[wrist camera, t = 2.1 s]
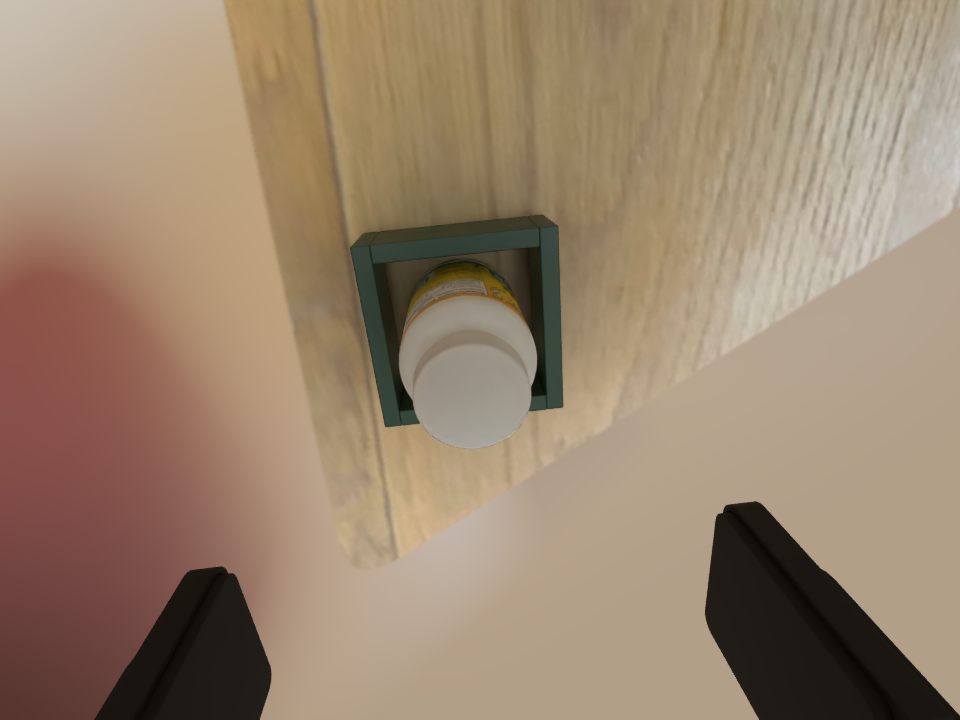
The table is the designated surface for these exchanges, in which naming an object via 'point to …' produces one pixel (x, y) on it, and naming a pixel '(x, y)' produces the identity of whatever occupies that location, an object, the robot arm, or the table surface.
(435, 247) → the open square frame
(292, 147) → the table surface
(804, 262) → the table surface
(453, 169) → the table surface
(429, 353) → the supplement bottle
